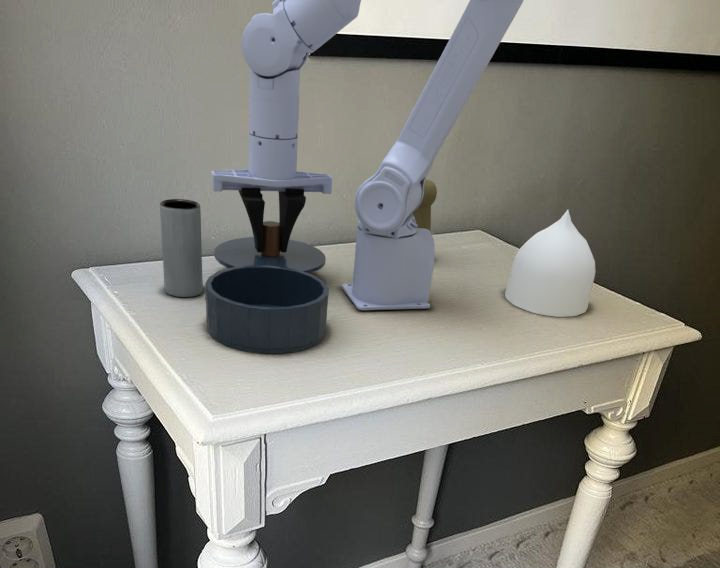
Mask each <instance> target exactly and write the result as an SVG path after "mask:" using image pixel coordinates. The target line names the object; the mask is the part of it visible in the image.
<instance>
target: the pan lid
mask: <svg viewBox="0 0 720 568" xmlns="http://www.w3.org/2000/svg"><path fill="white" fill-rule="evenodd" d="M280 236H281V224H280V223H279V221H278V222H277V221H273V220H267V221H266V220H265V221H263V242H264V247H263V252H257V250H256V249H255V242H254V236H248V237H238V238H233V239H230V240H227V241H224V242H222V243H220V244H218V245H217V246H216V247H215V248H214V251H213V252H214V254H213V255H214V259H215V260H216V262H217V263H218V264H220V265H221V266H223V267H225V268H226V269H229V268H232V267H240V266H250V265H268V266H278V267H286V268H291V269H295V270H300V271H303V272H306V273H309V274H313V273H315V272H317V271H319V270H321V269H322V268H324V266H325V265H326V259H327V257H326V255H325V253H324V251H322V250H320V249H319V248H317V247H316V246H313V245H311V244H308V243H306V242H303V241H299V240H294V239H289V242H288V246H287V252H281V251H280Z"/></svg>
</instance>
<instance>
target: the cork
mask: <svg viewBox="0 0 720 568" xmlns="http://www.w3.org/2000/svg"><path fill="white" fill-rule="evenodd" d="M437 196H438V190H437V185H436V183H435V182H434V181H432V180H430V179H427V178H426V180H425V184H424V195H423V199H422V202H421V204H420V205H419V207H418V208H417V209H416V210H415V211H414V212H413V216H414V218H415V221H416V224H417V228H424V229H428V230H429V231H430V232H431V233H432V230H431V228H432V205H433V204H434V203H435V201H436V199H437Z"/></svg>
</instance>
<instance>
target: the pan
mask: <svg viewBox="0 0 720 568" xmlns="http://www.w3.org/2000/svg"><path fill="white" fill-rule="evenodd" d="M204 286H205V287H204V288H205V316H206V317H205V319H206V321H205V322H206V327H207V331H208V334H209V335H210V336H211V338H212V339H214V340H215V341H217V342H218V343H220V344H222V345H224V346H226V347H229V348H232V349H235V350H239V351H242V352H247V353H254V354H265V355H266V354H269V355H277V354H278V355H279V354H291V353H297V352H301V351H304V350H308V349H310V348H313V347H314V346H317V345H318V344H320V343H321V342H322V341H323V340H324V338H325V337H326V329H327V323H328V322H327V321H328V320H327V319H328V306H329V291H330V288H329V287H328V285H327V284H326V283H325V281H324V280H322V279H321V278H319V277H318V276H316V275H314V274H313V273H306V272H303V271H300V270H295V269H291V268H286V267H278V266H268V265H250V266H240V267H232V268H225V269H222V270H218V271H216V272H215V273H212V275H210V276H208V278H207V279H206V282H205V285H204Z"/></svg>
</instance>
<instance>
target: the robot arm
mask: <svg viewBox="0 0 720 568" xmlns="http://www.w3.org/2000/svg"><path fill="white" fill-rule="evenodd" d="M361 3H362V0H274V1H272V2H271V6H272V8H273V10H272V13H269V12H261V13H257V14H254V15H253V16H252V17H251V19H250V21H249V22H248V23H247V24H246V26H245V28H244V30H243V32H242V35H241V43H240V46H241V53H242V56H243V58H244V61H245V63H246V64H247V67H249V90H248V100H249V101H248V113H249V114H248V168H246V169H229V170H211V171H210V178H211V180H210V181H211V182H210V183H211V189H212V191H213V192H219V193H221V192H223V191H238V193H239V196H240V198H241V201H242V203H243V206H244V208H245V211H246V214H247V216H248V220H249V223H250V226H251V230H252V237H254V242H255V249H256V250H257V252H263V247H264V242H263V222H264V215H265V207H266V205H265V204H266V201H265V199H264V198H263V193H262V192H278V210H279V212H278V213H279V214H278V215H279V219H278V220H279V221H278V223H280V224H281V236H280V251H281V252H287V246H288V242H289V240H290V238H291V235H292V232H293V229H294V226H295V224H296V222H297V220H298V218H299V216H300V214H301V212H302V211H303V209H304V208H305V206H306V202H307V197H306V196H305V193H322V194H324V195H331V194H332V188H333V187H332V186H333V177H332V176H331V175H330V174H328V173H317V172H307V171H299V170H298V171H297V168H298V167H297V166H298V165H297V164H298V145H299V144H298V143H299V142H298V140H299V139H298V138H299V115H300V80H301V79H300V78H301V69H302V68H303V67H304V66H305V64H306V63H307V61H308V58H309V55H310V54H312V53H314V52H316V51H317V50H318V49H319V48H321V47H322V46H323V45H324V44H325V43H327V42H328V41H330V40H331V39H332V38H333V37H334V36H336V34H338V33H340V32H341V31H342V29H344V28H345V27H347V26H348V25H349V24H351V23H352V22H353V21H354V20H355V19H357V18H358V16H359V13H360V7H361ZM523 3H524V0H469V2H468V3H467V5H466V7H465V9H464V11H463V12H462V14H461V17H460V19H459V21H458V23H457V24H456V26H455V28H454V30H453V32H452V34H451V36H450V37H449V40H448V42H447V43H446V46H445V47H444V49H443V51H442V53H441V55H440V57H439V58H438V61H437V63H436V65H435V67H434V68H433V70H432V73H431V74H430V76H429V78H428V80H427V81H426V84H425V85H424V88H423V90H422V92H421V94H420V95H419V97H418V99H417V101H416V102H415V105H414V106H413V108H412V111H411V113H410V114H409V116H408V118H407V120H406V122H405V124H404V126H403V128H402V130H401V132H400V133H399V135H398V137H397V139H396V141H395V142H394V144H393V145H392V147H391V148H390V150H389V151H388V152H387V154H386V156H384V158H383V160H382V161H381V163H380V165H379V167H378V168H377V170H376V172H375V173H374V174H373V175H372V176H370V177H368V178H367V179H366V180H365V181H363V183H361V184H360V186H359V187H358V189H357V191H356V193H355V196H354V211H355V213H356V216H357V219H358V220H357V227H356V239H355V251H354V260H353V261H354V262H353V273H352V283H343V284H342V285H341V289H342V290H343V291H344V293H345V294H346V296H347V297H348V298H349V299H350V301H351V302H352V304H353V305H354V306H355V308H356V309H357V310H358V311H384V310H388V311H389V310H420V309H430V308H431V304H430V303H429V300H430V299H429V298H430V292H431V286H432V279H433V273H434V266H435V258H436V248H435V247H436V246H435V245H436V244H435V239H434V236H433V234H432V231H431V232H430V231H429V230H428V229H424V228H417V224H416V221H415V218H414V216H413V212H414V211H415V210H416V209H417V208H418V207H419V205H420V204H421V202H422V199H423V195H424V184H425V180H426V179H427V178H428V175H429V174H430V172H431V170H432V168H433V165H434V163H435V160H436V157H437V155H438V154H439V152H440V150H441V148H442V147H443V145H444V143H445V141H446V139H447V138H448V136H449V135H450V132H451V130H452V129H453V127H454V125H455V124H456V122H457V119H458V118H459V116H460V115H461V113H462V112H463V109H464V107H465V106H466V104H467V102H468V100H469V99H470V97H471V95H472V93H473V91H474V90H475V88H476V86H477V84H478V83H479V81H480V79H481V77H482V76H483V74H484V72H485V70H486V69H487V67H488V64H489V63H490V61H491V59H492V58H493V56H494V54H495V52H496V50H497V49H498V47H499V46H500V44H501V42H502V40H503V39H504V37H505V35H506V33H507V31H508V29H509V28H510V26H511V25H512V23H513V20H514V19H515V17H516V16H517V14H518V12H519V10H520V8H521V6H522V5H523Z"/></svg>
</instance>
